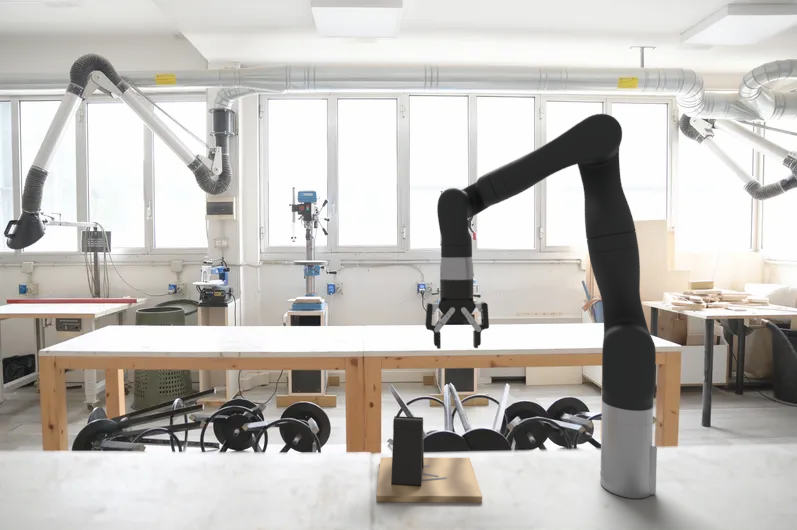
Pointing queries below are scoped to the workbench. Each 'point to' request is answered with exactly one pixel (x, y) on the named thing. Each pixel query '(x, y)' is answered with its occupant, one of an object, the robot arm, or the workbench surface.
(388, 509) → the workbench surface
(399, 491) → the oak board
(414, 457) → the phone stand
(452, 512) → the workbench surface
